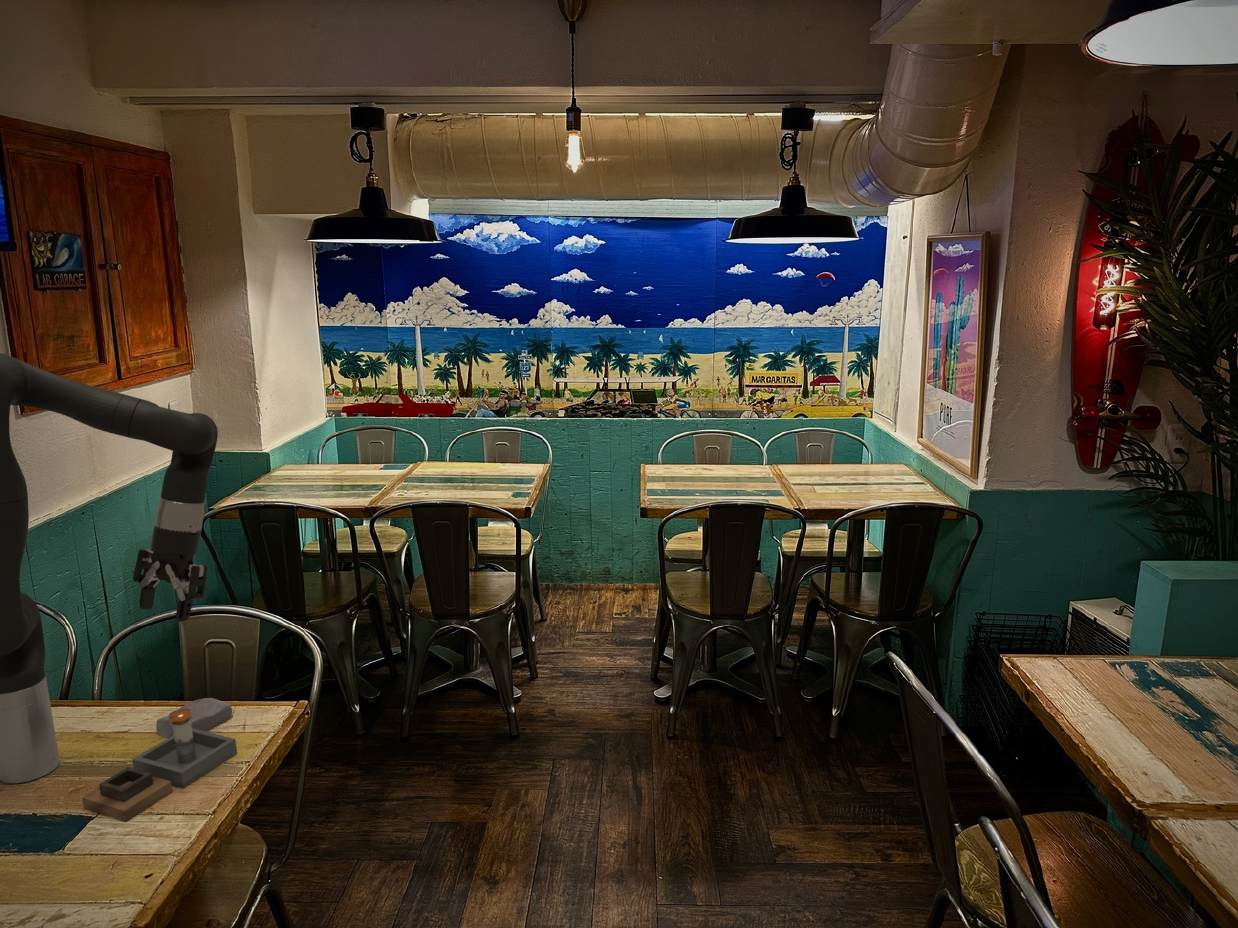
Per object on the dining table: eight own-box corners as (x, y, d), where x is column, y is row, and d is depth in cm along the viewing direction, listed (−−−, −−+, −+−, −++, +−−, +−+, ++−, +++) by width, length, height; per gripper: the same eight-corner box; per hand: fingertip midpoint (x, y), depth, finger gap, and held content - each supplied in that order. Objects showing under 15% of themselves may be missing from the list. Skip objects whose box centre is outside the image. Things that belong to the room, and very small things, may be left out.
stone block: (152, 743, 170) (186, 745, 166) (147, 720, 170) (181, 721, 165) (204, 717, 181) (237, 718, 176) (199, 695, 181) (232, 696, 176)
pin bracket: (83, 808, 147) (80, 786, 146) (131, 779, 155) (128, 759, 154) (126, 821, 143) (123, 799, 142) (172, 791, 151) (169, 770, 150)
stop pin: (171, 762, 159) (164, 716, 157) (188, 751, 162) (181, 706, 160) (186, 765, 158) (178, 719, 155) (202, 755, 161) (195, 710, 159)
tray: (134, 773, 157) (132, 758, 156) (189, 740, 167) (187, 726, 167) (183, 788, 152) (181, 772, 152) (237, 753, 163) (235, 738, 162)
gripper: (130, 517, 153) (115, 607, 154) (191, 534, 148) (176, 628, 149) (166, 515, 160) (151, 602, 161) (225, 532, 155) (210, 621, 156)
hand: (163, 614), depth 155 cm, fingers open, 8 cm apart
